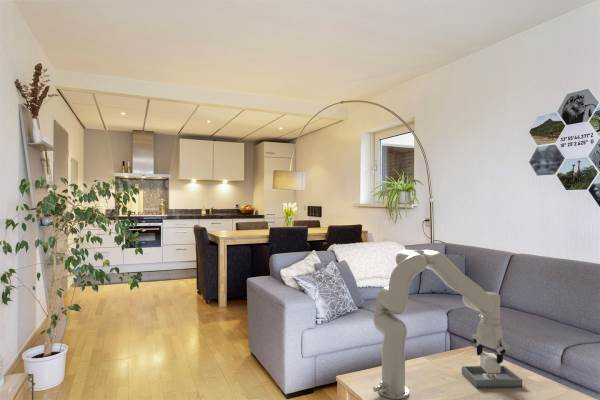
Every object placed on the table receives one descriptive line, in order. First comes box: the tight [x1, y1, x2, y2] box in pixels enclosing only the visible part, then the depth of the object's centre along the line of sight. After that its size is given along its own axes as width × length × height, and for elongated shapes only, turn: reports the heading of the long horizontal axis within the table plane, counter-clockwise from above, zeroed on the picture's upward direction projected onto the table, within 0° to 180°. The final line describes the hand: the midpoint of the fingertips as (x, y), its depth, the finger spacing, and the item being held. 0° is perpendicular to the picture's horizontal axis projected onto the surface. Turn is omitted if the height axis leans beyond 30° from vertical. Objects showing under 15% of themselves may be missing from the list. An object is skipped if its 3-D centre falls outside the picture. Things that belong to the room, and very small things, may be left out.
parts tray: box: [461, 365, 523, 389], centre depth 172 cm, size 20×14×4 cm
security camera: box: [479, 352, 501, 379], centre depth 172 cm, size 6×7×10 cm
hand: (489, 358), depth 172 cm, fingers open, 9 cm apart
